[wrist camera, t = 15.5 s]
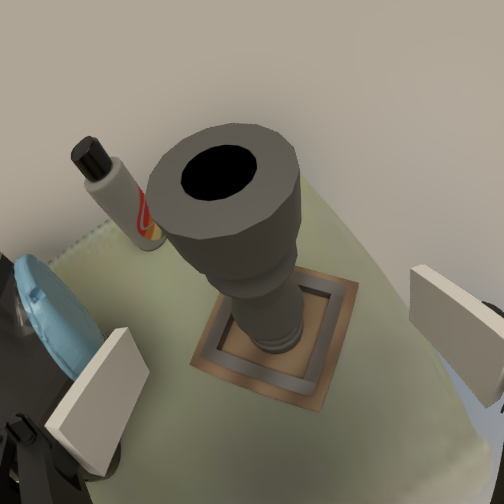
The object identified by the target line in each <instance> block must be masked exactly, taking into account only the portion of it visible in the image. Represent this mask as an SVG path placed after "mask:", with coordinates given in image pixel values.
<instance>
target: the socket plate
mask: <svg viewBox="0 0 504 504" xmlns="http://www.w3.org/2000/svg"><path fill="white" fill-rule="evenodd" d="M291 276H292V278H293V279H294V280H295V281H296V283H297V284H298V286H299V288H300V289H301V291H302V293H303V300H304V310H303V314H302V315H303V322H304V327H303V333H302V336H301V340H300V341H299V342H298V344H297V345H296V346H295V347H294V348H293V349H291V350H289V351H288V352H286V353H283V354H274V355H273V354H270V353H266V352H263V351H262V350H261V349H260V348H258V347H257V346H256V345H255V344H254V343H253V342H252V341H251V340H250V338H249V336H248V335H247V334H246V333H245V332H243V331H242V330H241V329H240V328H239V327H238V325H237V323H236V321H235V319H234V317H233V315H232V303H231V297H229V296H225V295H223V294H222V293H221V292H220V294H219V297H218V299H217V301H216V303H215V306H214V308H213V310H212V313H211V315H210V317H209V320H208V322H207V324H206V327H205V329H204V331H203V334H202V336H201V338H200V341H199V343H198V345H197V348H196V350H195V352H194V355H193V357H192V359H191V362H190V364H189V365H191V366H194V367H196V368H198V369H200V370H202V371H205V372H207V373H209V374H212V375H214V376H216V377H219V378H221V379H223V380H226V381H228V382H231V383H233V384H236V385H238V386H241V387H244V388H246V389H249V390H252V391H254V392H257V393H260V394H263V395H265V396H268V397H271V398H274V399H277V400H280V401H283V402H286V403H289V404H293V405H296V406H299V407H302V408H306V409H309V410H313V411H316V412H319V411H320V409H321V406H322V404H323V401H324V398H325V395H326V393H327V390H328V387H329V384H330V382H331V379H332V376H333V373H334V370H335V367H336V364H337V361H338V357H339V354H340V351H341V348H342V345H343V341H344V338H345V334H346V331H347V327H348V324H349V320H350V316H351V313H352V309H353V305H354V301H355V297H356V293H357V289H358V284H359V283H357V282H353V281H350V280H346V279H342V278H339V277H335V276H331V275H327V274H324V273H320V272H316V271H313V270H309V269H305V268H302V267H298V266H294V269H293V273H292V275H291Z"/></svg>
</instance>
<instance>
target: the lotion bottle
mask: <svg viewBox="0 0 504 504" xmlns="http://www.w3.org/2000/svg"><path fill="white" fill-rule="evenodd" d="M71 160H72V161H73V163H74V164H75V165H76V166H77V167H78V169H79V170H80V171H81V172H82V174H83V175H84V176H85V177H86V179H85V183H84V184H85V185H84V186H85V189H86V191H87V192H88V193H89V194H90V195H91V196H92V198H93V199H94V200H95V201H96V202H97V203H98V205H99V206H100V207H101V208H102V209H103V210H104V211H105V212H106V213H107V214H108V216H109V217H110V218H111V219H112V220H113V221H114V222H115V223H116V224H117V225H118V226H119V227H120V229H121V230H122V231H123V232H124V233H125V234H126V235H127V236H128V237H129V238H130V239H131V240H132V241H133V242H134V243H135V244H136V245H137V246H138V247H139V248H140V249H142V250H145V251H151V250H154V249H156V248H158V247H159V246H160V245H161V244H162V243H163V242H164V241H165V239H166V236H165V235H164V233H163V232H162V231H161V229H160V228H159V227H158V226H157V224H156V223H155V222H154V220H153V219H152V218H151V215H150V212H149V209H148V205H147V202H146V198H145V194H144V193H143V192H142V190H141V189H140V187H139V186H138V184H137V183H136V181H135V180H134V178H133V177H132V176H131V174H130V173H129V171H128V170H127V168H126V167H125V165H124V164H123V162H122V161H121V160H120V159H119V158H118V157H109V156H108V154H107V153H106V151H105V150H104V148H103V147H102V145H101V144H100V142H99V141H98V139H97V138H93V137H91V136H87V137H85V138H84V139H82V140H81V141H80V142H79V143H78V144H77V145H76V146H75V147H74V148H73V150H72V152H71Z"/></svg>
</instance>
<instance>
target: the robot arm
mask: <svg viewBox="0 0 504 504" xmlns="http://www.w3.org/2000/svg"><path fill="white" fill-rule="evenodd" d="M409 320H410V321H411V322H412V323H413V325H414V326H415V327H416V328H417V329H418V330H419V331H420V332H421V333H422V334H423V335H424V336H425V338H426V339H427V340H428V341H429V342H430V343H431V344H432V345H433V346H434V347H435V349H436V350H437V351H438V352H439V353H440V354H441V355H442V357H443V358H444V359H445V360H446V361H447V362H448V363H449V365H451V367H452V368H453V369H454V370H455V372H456V373H457V374H458V375H459V376H460V377H461V379H462V380H463V381H464V382H465V384H466V385H467V386H468V387H469V388H470V390H471V391H472V392H473V393H474V394H475V396H476V397H477V398H478V400H479V401H480V402H481V403H482V404H483V406H484V407H485V408H488V407H489V406H491V405H492V404H494V403H495V402H496V401H498V400H499V399H500V398H501V396H502V394H503V392H504V312H502V311H501V310H500V309H499V308H497V307H496V306H495V305H492V304H490V303H486V302H484V301H482V302H480V301H479V300H477V299H476V298H474V297H473V296H471V295H470V294H469V293H467V292H466V291H464V290H463V289H461V288H460V287H458V286H457V285H455V284H454V283H452V282H451V281H449V280H447V279H446V278H444V277H443V276H441V275H440V274H438V273H436V272H435V271H433V270H432V269H430V268H429V267H427V266H425V265H424V264H422V265H419V266H416V267H412V268H410V315H409ZM149 373H150V372H149V370H148V368H147V366H146V364H145V362H144V360H143V358H142V356H141V354H140V352H139V350H138V348H137V346H136V343H135V341H134V339H133V337H132V335H131V333H130V330H129V328H128V327H126V328H118V329H115V330H114V331H113V332H112V334H111V335H110V336H109V338H108V339H107V340H106V341H105V340H104V337H103V335H102V333H101V331H100V329H99V328H98V326H97V324H96V323H95V321H94V320H93V319H92V317H91V316H90V314H89V313H88V312H87V310H86V309H85V308H84V306H83V305H82V304H81V303H80V302H79V300H78V299H77V298H76V297H75V295H74V294H73V293H72V292H71V291H70V290H69V289H68V287H67V286H66V285H65V284H64V283H63V282H62V281H61V280H60V279H59V278H58V277H57V276H56V275H55V273H54V272H53V271H52V270H51V269H50V268H48V267H47V266H46V265H45V264H44V263H43V262H41V261H38V259H37V258H36V257H34V256H33V255H30V254H25V255H23V256H22V257H20V258H18V259H17V260H16V261H15V264H14V263H12V262H11V261H10V260H9V259H8V258H7V257H5V256H4V255H3V254H2V253H1V252H0V504H93V503H92V500H91V498H90V495H89V492H88V490H87V487H86V484H85V482H95V481H99V480H103V479H106V478H108V477H110V476H111V475H112V474H113V473H114V472H115V470H116V468H117V466H118V463H119V459H120V441H119V440H120V438H121V436H122V433H123V431H124V429H125V426H126V424H127V422H128V420H129V417H130V415H131V413H132V410H133V408H134V406H135V404H136V402H137V399H138V397H139V395H140V393H141V391H142V388H143V386H144V384H145V382H146V380H147V378H148V375H149ZM503 411H504V405H503V407H502V409H501V413H503ZM16 481H19V483H17V482H16ZM490 504H504V444H503V451H502V456H501V462H500V467H499V472H498V476H497V480H496V485H495V488H494V492H493V495H492V499H491V502H490Z"/></svg>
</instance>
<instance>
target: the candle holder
mask: <svg viewBox="0 0 504 504" xmlns="http://www.w3.org/2000/svg"><path fill="white" fill-rule="evenodd" d="M145 198H146V202H147V205H148V209H149V212H150V215H151V218H152V219H153V220H154V222H155V223H156V224H157V226H158V227H159V228H160V229H161V231H162V232H163V233H164V235H165V236H166V237H167V238H168V240H169V241H170V242H171V243H172V245H173V246H174V247H175V248H176V250H177V251H178V252H179V253H180V255H181V256H182V257H183V258H184V259H185V260H186V261H187V262H188V263H189V264H190V265H192V266H193V267H194V268H195V269H196V270H197V271H199V272H200V273H202V274H205V275H206V277H207V280H208V282H209V283H210V284H211V285H212V286H214V287H215V288H216V289H217V290H218V291H220V292H221V293H222V294H223V295H225V296H229V297H231V303H232V315H233V317H234V319H235V321H236V323H237V325H238V327H239V328H240V329H241V330H242V331H243V332H245V333H246V334H247V335H248V336H249V338H250V340H251V341H252V342H253V343H254V344H255V345H256V346H257V347H258V348H260V349H261V350H262V351H263V352H266V353H270V354H273V355H274V354H283V353H286V352H288V351H289V350H291V349H293V348H294V347H295V346H296V345H297V344H298V342H299V341H300V340H301V336H302V333H303V327H304V322H303V315H302V314H303V310H304V300H303V293H302V291H301V289H300V288H299V286H298V284H297V283H296V281H295V280H294V279H293V278H292V276H291V275H292V273H293V269H294V266H295V262H296V259H297V248H296V238H297V235H298V231H299V228H300V224H301V190H300V168H299V164H298V161H297V157H296V153H295V150H294V147H293V146H292V145H291V144H290V143H289V142H288V141H287V140H286V139H285V138H283V137H282V136H281V135H280V134H279V133H278V132H275V131H273V130H270V129H268V128H265V127H262V126H259V125H257V124H239V123H237V124H236V123H230V124H225V125H220V126H215V127H211V128H207V129H204V130H202V131H200V132H197V133H195V134H193V135H191V136H189V137H187V138H185V139H183V140H182V141H180V142H179V143H178V144H177V145H175V146H174V147H173V148H172V149H170V150H169V151H168V152H167V153H166V154H164V155H163V156H162V158H161V160H160V161H159V163H158V164H157V166H156V167H155V168H154V170H153V171H152V173H151V174H150V177H149V181H148V185H147V190H146V195H145Z"/></svg>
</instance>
